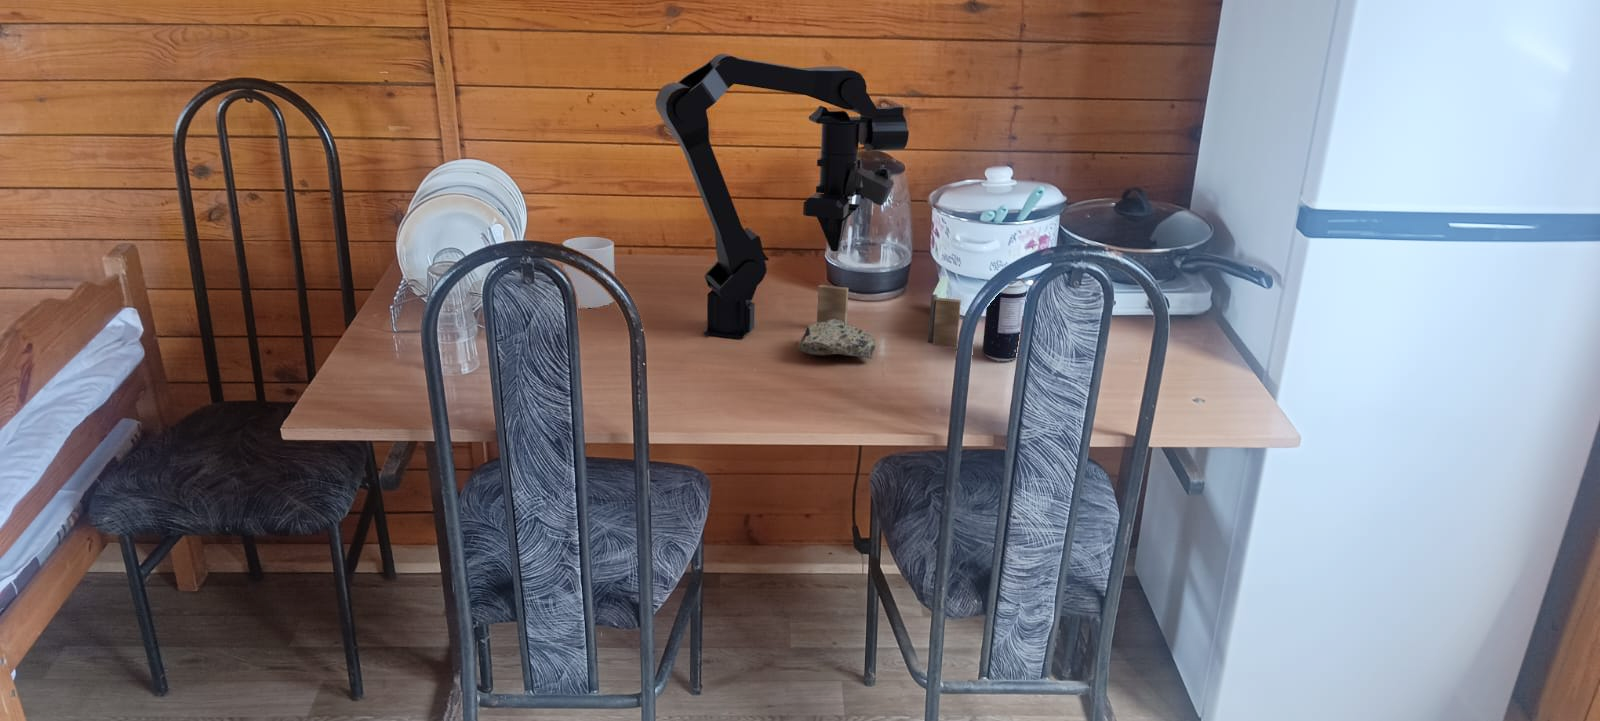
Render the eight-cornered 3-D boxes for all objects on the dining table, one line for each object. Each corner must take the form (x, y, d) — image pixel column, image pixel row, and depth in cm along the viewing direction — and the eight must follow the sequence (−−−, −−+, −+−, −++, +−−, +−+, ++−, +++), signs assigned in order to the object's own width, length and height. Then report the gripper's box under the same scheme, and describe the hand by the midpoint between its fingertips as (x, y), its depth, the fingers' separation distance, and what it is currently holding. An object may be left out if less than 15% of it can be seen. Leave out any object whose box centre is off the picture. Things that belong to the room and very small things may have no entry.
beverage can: (1022, 354, 175) (1030, 278, 171) (1016, 366, 170) (1025, 288, 166) (985, 349, 176) (992, 273, 172) (978, 360, 171) (985, 283, 167)
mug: (580, 288, 199) (579, 230, 196) (627, 292, 198) (626, 233, 195) (557, 308, 188) (555, 247, 184) (606, 312, 187) (605, 251, 183)
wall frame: (816, 332, 181) (818, 283, 178) (818, 330, 182) (820, 281, 179) (955, 349, 176) (960, 299, 173) (956, 346, 177) (961, 297, 174)
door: (938, 316, 189) (941, 275, 187) (944, 317, 189) (948, 276, 187) (928, 339, 178) (931, 296, 176) (934, 340, 178) (938, 297, 176)
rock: (866, 367, 164) (867, 338, 163) (792, 360, 167) (792, 332, 166) (882, 347, 174) (883, 319, 173) (811, 341, 177) (811, 314, 176)
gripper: (878, 166, 166) (872, 270, 171) (902, 146, 183) (896, 242, 188) (804, 160, 169) (800, 263, 174) (834, 141, 186) (830, 235, 191)
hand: (834, 250), depth 182 cm, fingers closed
